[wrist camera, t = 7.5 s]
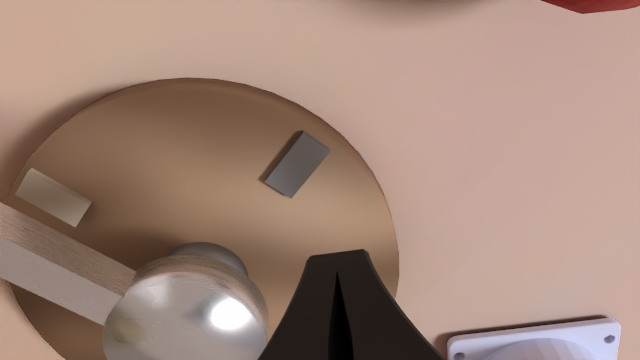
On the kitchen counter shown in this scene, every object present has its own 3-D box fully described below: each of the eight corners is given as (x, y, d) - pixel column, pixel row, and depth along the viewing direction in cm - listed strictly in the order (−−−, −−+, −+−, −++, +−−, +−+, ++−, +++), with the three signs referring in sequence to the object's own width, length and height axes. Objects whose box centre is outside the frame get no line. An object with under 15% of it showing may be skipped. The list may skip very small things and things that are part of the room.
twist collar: (298, 302, 20) (296, 341, 18) (220, 390, 22) (212, 434, 20) (-107, 82, 16) (-161, 105, 14) (-156, 216, 18) (-208, 251, 16)
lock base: (406, 367, 27) (419, 429, 23) (94, 403, 27) (66, 467, 24) (376, 48, 19) (388, 76, 16) (-48, 110, 20) (-114, 148, 17)
